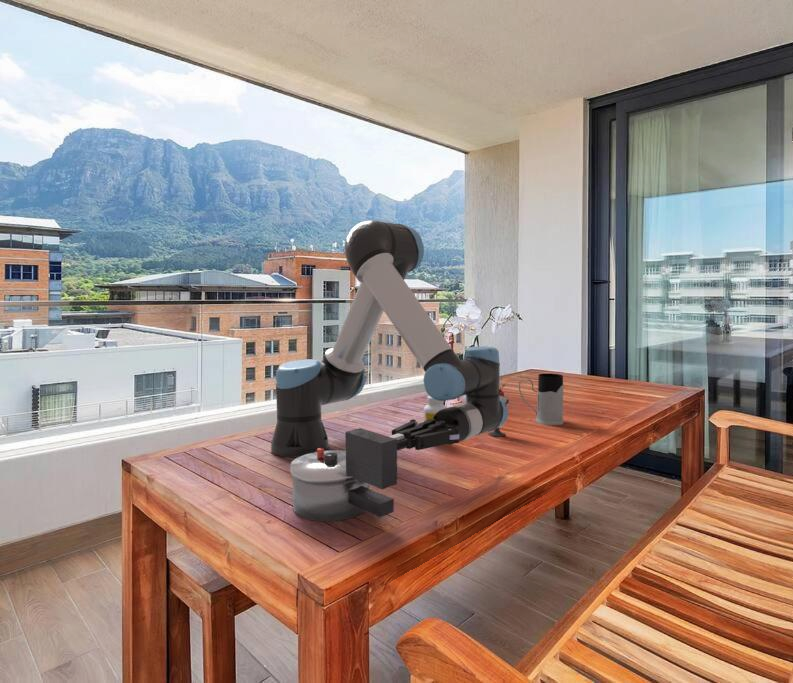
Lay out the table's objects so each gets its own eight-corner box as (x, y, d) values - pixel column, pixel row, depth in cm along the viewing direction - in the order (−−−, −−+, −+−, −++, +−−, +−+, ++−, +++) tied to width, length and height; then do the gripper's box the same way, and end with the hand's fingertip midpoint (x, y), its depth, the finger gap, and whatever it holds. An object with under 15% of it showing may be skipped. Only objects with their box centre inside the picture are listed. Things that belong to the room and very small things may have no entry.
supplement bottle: (450, 444, 139) (450, 398, 138) (426, 446, 138) (426, 399, 137) (444, 438, 146) (444, 393, 144) (421, 439, 145) (421, 394, 143)
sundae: (511, 437, 146) (512, 385, 144) (488, 438, 145) (489, 386, 144) (505, 431, 152) (505, 381, 151) (483, 431, 152) (483, 382, 150)
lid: (275, 468, 100) (273, 422, 99) (339, 451, 111) (338, 409, 110) (354, 506, 82) (353, 451, 81) (421, 481, 93) (421, 432, 92)
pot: (270, 500, 103) (269, 466, 102) (330, 480, 113) (329, 450, 113) (354, 546, 84) (353, 505, 83) (416, 517, 94) (416, 481, 94)
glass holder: (563, 426, 157) (564, 378, 156) (516, 422, 162) (517, 375, 161) (564, 419, 166) (565, 373, 164) (519, 416, 170) (520, 371, 169)
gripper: (481, 447, 105) (402, 477, 88) (433, 435, 114) (353, 460, 97) (482, 411, 104) (402, 435, 87) (433, 402, 113) (352, 422, 96)
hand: (376, 448), depth 92 cm, fingers closed
